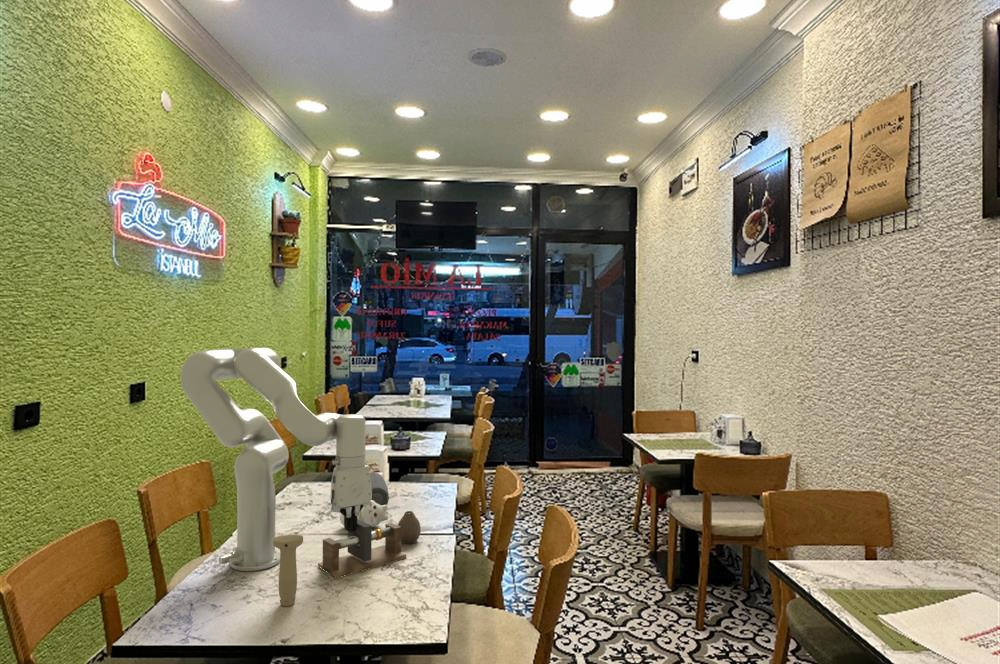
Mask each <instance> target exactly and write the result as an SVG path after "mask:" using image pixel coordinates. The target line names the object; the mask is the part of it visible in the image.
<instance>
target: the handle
mask: <svg viewBox="0 0 1000 664" xmlns="http://www.w3.org/2000/svg"><path fill="white" fill-rule="evenodd" d="M303 543H304V536H303V535H301V534H284V535H279V536H275V538H274V539H273V545H274V546H275V549H279V550H280V552H279V553H280V562H279V570H278V595H279V598H280V599H279V604H280V606H283V607H286V608H287V607H290V606H293V605H294V604H295V602H296V595H297V588H298V587H297V586H298V570H297V569H298V568H297V549H298V547H300V546H302V544H303Z"/></svg>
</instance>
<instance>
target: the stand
mask: <svg viewBox="0 0 1000 664" xmlns="http://www.w3.org/2000/svg"><path fill="white" fill-rule="evenodd" d="M387 527H391V528H392V531H393V534H392V536H388V537H384V539H385V540H384V544H383V545H380V546H376V547H373V548H372V547H371V560H369V561H365V562H364V561H362V560H361V559H359V558H357V557H355V556H354V555H352V554H350V553H349V554H347V555H346V554H345V555H343V556H340V549H339V542H337V541H335V539H333V538H331V537H327V538H323V539H322V561H320V562H318V563H317V567H318V566H319V567H321V568H322V569H324V570H325V571H327V572H328V573H330V574H331V575H330V574H329V575H330V576H332V575H333V576H334V577H333V576H332V577H333V578H335V577H336V578H337V579H339V578H338V577H340V578H342V577H341V576H343V577H345V576H344V575H347V576H349V575H348V574H350V575H352V574H351V573H353V574H356V573H355V572H357V573H359V572H358V571H360V572H362V570H364V571H366V570H365V569H367V570H369V569H368V568H370V569H373V568H372V567H374V568H377V567H380V566H383V565H387V564H390V563H395V562H397V561H400V560H404V559H407V554H406V553H405V552H402V542H401V527H400V526H398V524H395V523H393V522H389V523H385V527H384V528H387ZM376 566H377V567H376ZM319 567H318V568H319ZM321 568H320V569H321ZM322 569H321V570H322ZM324 570H323V571H324ZM325 571H324V572H325ZM327 572H326V573H327ZM328 573H327V574H328ZM336 578H335V579H336Z"/></svg>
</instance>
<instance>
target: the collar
mask: <svg viewBox="0 0 1000 664" xmlns="http://www.w3.org/2000/svg"><path fill="white" fill-rule="evenodd" d="M372 531H373V527H372V526H371V525H369V524H367V523H365V522H363V521H360V520H358V519H357V527H356V531H355V532H351V533H350V532H348V531H347V537H351V536H355V535H360V544H358V545H354V546H350V547H347V553H348V554H349V555H350V554H352V555H354V556H355V557H357V558H359V559H361V560H362V561H364V562H365V561H369V560H371V549H372V543H373V541H372Z"/></svg>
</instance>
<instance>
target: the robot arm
mask: <svg viewBox="0 0 1000 664" xmlns="http://www.w3.org/2000/svg"><path fill="white" fill-rule="evenodd" d="M280 362H281V361H280V357H279V355H278V354H277V353H276V352H275V350H272V349H271V348H268V347H251V348H221V349H220V348H219V349H205V350H199V351H197V352H194V353H193V354H191V355H189V356H188V357H187V358H186V359H185V360H184V362H183V365H182V367H181V369H180V378H179V379H180V384H181V385H180V386H181V388H182V390H183V393H184V394H185V396H186V397H187V399H188V400H189V401H190V402H191V404H192V405H193V407H194V408H195V409H196V410H197V411H198V413H199V414H200V415H201V417H202V418H203V420H204V422H205V423H206V424H207V426H208V427H209V428H210V430H211V431H212V433H213V434H214V435H215V437H216V438H217V440H218V441H219V442H220V444H222V445H223V446H224V447H227V448H237V447H241V446H245V448H244V449H242V450H241V451H240V452H239V453H238V454H237V456H236V458H235V461H234V464H233V465H234V467H233V468H234V469H233V472H234V477H235V483H236V490H237V491H236V494H237V495H236V496H237V498H236V499H237V500H236V501H237V502H236V505H237V510H236V511H237V512H236V513H237V515H236V516H237V521H236V524H237V525H236V526H237V527H236V530H237V531H236V547H234V548H233V549H232V551H231V552H230V553H229V554H227V555H226V554H225V555H223V556H219V557H218V564H219V565H220V566H221V565H225V564H227V563H228V564H229V565H230V567H231V568H232V569H233V570H236V571H241V572H255V571H261V570H262V571H263V570H266V569H269V568H272V567H274V566H276V565H278V564H280V552H278V551H277V550H276V547H275V546H274V545H273V539H274V538H275V537H276V507H277V506H276V504H277V503H276V501H277V500H276V499H277V498H276V496H277V495H276V488H275V483H274V479H273V475H274V474H276V473H278V472H280V471H281V470H282V469H284V468H285V467H286V466H287V464H288V461H289V458H290V457H289V455H290V454H289V449H288V446H287V444H286V443H285V442H284V440H283V438H282V437H281V436H280V434H279V433H278V432H277V430H276V429H275V427H274V426H273V424H272V423H271V422H270V421H269V419H268V418H267V416H265V415H264V414H263V413H262V412H261V411H259V410H257V409H255V408H249V407H247V408H242V409H241V408H240V407H239V406H238V405H237V403H236V402H235V401H234V400H233V398H232V397H231V395H230V394H229V393H228V392H227V391H226V390H225V389H223V388H222V387H221V386H220V385H219V384H218V383H217V381H221V380H228V379H242V380H243V381H245V382H246V383H247V384H248V385H249V386H250V387H251V388H253V389H254V390H255V391H256V392H257V393H258V394H259V395H261V397H262V398H264V399H265V401H267V402H268V403H269V404H270V405H271V406H272V408H273V411H274V413H275V415H276V416H277V418H278V419H279V421H280V423H281V424H282V425H283V426H284V428H286V430H287V431H289V433H291V434H292V435H293V436H294V437H295V438H297V439H298V441H300V442H302V443H303V444H305V445H307V446H310V447H318V446H321V445H324V444H325V443H327V442H330V441H333V440H335V443H336V444H335V447H336V448H335V458H334V459H332V460H331V465H332V466H335V467H334V468H333V472H332V476H331V483H330V504H331V507H330V512H333V513H340V515H341V514H342V515H343V516H344V525H343V527H344V528H343V529H344V530H345V531H346V532H347V533H348V532H350V533H351V532H355V531H356V527H357V516H358V515H359V512H360V511H361V509H362V508H363V507H365V506H367V505H369V504H370V501H371V499H372V488H371V477H370V473H371V472H370V468H369V465H368V464H366V418H365V417H364V416H363V415H362V414H358V413H357V414H356V413H355V414H354V413H351V414H349V413H347V414H339V413H332V412H322V413H319V414H316V415H315V414H314V413H313V412H312V411H311V410H309V409H308V407H306V405H304V403H303V402H302V401H301V400H300V399H299V396H298V394H297V382H296V380H294V379H293V377H292V376H290V375H289V374H288V373H286V372H285V371H284V370H283V369H282V368H281V367H280V365H281V363H280ZM350 507H351V510H350Z"/></svg>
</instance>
